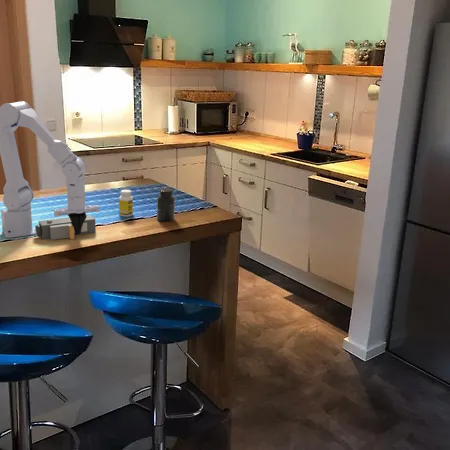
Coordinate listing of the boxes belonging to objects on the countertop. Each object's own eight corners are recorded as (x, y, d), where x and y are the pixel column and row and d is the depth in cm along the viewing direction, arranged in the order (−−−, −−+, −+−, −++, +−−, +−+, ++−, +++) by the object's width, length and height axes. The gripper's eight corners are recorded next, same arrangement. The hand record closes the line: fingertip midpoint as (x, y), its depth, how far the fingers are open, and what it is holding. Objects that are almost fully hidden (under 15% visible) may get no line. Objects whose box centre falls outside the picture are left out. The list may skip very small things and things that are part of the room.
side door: (53, 241, 165) (52, 229, 164) (50, 238, 168) (49, 226, 166) (74, 238, 169) (73, 226, 167) (71, 235, 171) (70, 223, 170)
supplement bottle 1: (129, 217, 194) (129, 193, 190) (116, 216, 195) (116, 191, 191) (135, 213, 199) (134, 189, 195) (122, 212, 200) (121, 188, 196)
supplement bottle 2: (153, 220, 192) (153, 190, 188) (162, 215, 198) (162, 186, 194) (169, 223, 190) (169, 193, 186) (177, 218, 196) (178, 189, 192)
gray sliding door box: (38, 240, 166) (37, 224, 164) (35, 235, 170) (34, 219, 169) (95, 232, 176) (95, 217, 174) (91, 227, 180) (90, 213, 179)
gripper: (56, 200, 158) (59, 240, 163) (101, 196, 166) (102, 234, 170) (51, 195, 164) (53, 233, 168) (94, 190, 171) (95, 228, 176)
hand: (77, 233), depth 170 cm, fingers closed
